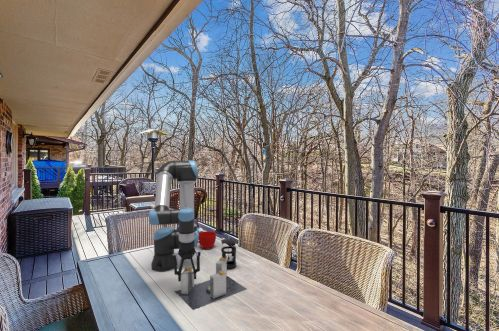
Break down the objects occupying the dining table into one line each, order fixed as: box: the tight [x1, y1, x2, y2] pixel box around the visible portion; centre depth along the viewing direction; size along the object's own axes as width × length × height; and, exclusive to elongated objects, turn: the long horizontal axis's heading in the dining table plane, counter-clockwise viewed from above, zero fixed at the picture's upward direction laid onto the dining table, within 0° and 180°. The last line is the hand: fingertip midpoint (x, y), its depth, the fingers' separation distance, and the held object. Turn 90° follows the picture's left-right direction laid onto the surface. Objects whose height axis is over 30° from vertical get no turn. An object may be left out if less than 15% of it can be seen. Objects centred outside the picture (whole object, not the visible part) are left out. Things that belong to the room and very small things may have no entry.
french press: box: [220, 229, 237, 271], centre depth 167 cm, size 12×9×23 cm
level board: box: [174, 275, 248, 311], centre depth 139 cm, size 20×30×3 cm, turn 128°
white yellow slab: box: [215, 256, 228, 277], centre depth 150 cm, size 3×7×10 cm, turn 163°
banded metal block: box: [209, 271, 226, 299], centre depth 134 cm, size 3×7×10 cm, turn 128°
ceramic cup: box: [198, 230, 217, 250], centre depth 203 cm, size 13×17×10 cm
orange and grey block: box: [180, 266, 193, 295], centre depth 138 cm, size 3×7×10 cm, turn 174°
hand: (187, 286), depth 139 cm, fingers closed on orange and grey block, 5 cm apart
